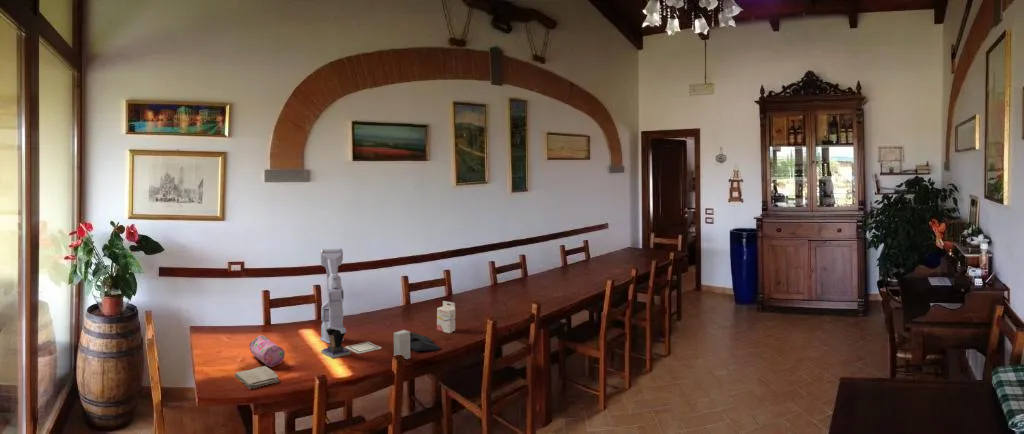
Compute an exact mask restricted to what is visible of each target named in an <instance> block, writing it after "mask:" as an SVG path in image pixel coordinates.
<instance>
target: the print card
mask: <svg viewBox="0 0 1024 434" xmlns="http://www.w3.org/2000/svg"><path fill="white" fill-rule="evenodd" d="M344 348H346V349H348V350H349V351H351V352H353V353H355V354H358V355H359V354H364V353H369V352H373V351H376V350H381V349H382V347H381V346H379V345H376V344H374V343H372V342H370V341H365V342H361V343H357V344H356V343H355V344H352V345H347V346H344Z"/></svg>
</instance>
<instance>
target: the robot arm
mask: <svg viewBox="0 0 1024 434" xmlns="http://www.w3.org/2000/svg"><path fill="white" fill-rule="evenodd" d="M343 258H344V251H343V249H342V248H341V247H340V248H326V249H325V248H321V250H320V265H321V267H323V268H325V270H326V295H327V296H326V297H327V298H326V299H327V300H326V302H325V303H323V304H322V305H321V313H320V314H321V315H320V317H321V322H322V323H321V333H320V334H321V336H320V337H319V340H321V341H323V342H324V343H328V344H330V335H333V336H334V339H335V345H336V347H341V346H342V343H343V341H344V340H345V339H344V336H345V335H346V334H347V328H346V327H345V326H344V324H343V320H344V309H343V302H344V300H345V299H344V296H345V295H344V289H343V286H342V279H341V276H340V275H339V274H338V273H339V272H338V271H339V266H341V265H342V263H343V260H344V259H343Z"/></svg>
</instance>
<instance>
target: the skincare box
mask: <svg viewBox="0 0 1024 434" xmlns="http://www.w3.org/2000/svg"><path fill="white" fill-rule="evenodd" d="M410 332H411V331H410V330H406V329H401V330H399V331H395V332H393V357H394V356H396V355H402V356H404V358H405V359H406V360H409V359H411V349H410Z"/></svg>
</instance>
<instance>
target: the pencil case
mask: <svg viewBox="0 0 1024 434" xmlns="http://www.w3.org/2000/svg"><path fill="white" fill-rule="evenodd" d="M248 346H249V350H250V353H251V354H252V355H253V356H254V357H255V358H256V359H258V360H260V362H262V363H263V364H264V365H265V366H266V367H268V368H269V367H270V368H273V367H276V366H278V365H279V364H281V363H282V362H283V361H284V360H285V359H284V358H285V355H286V353H285V350H284V348H283V347H280V346H278V345H277V344H276V343H275V342H273V341H271V340H270V338H268V337H267V336H265V335H257V336H256V338H254V339H253V340H252V341H250V343H249V345H248Z"/></svg>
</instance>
